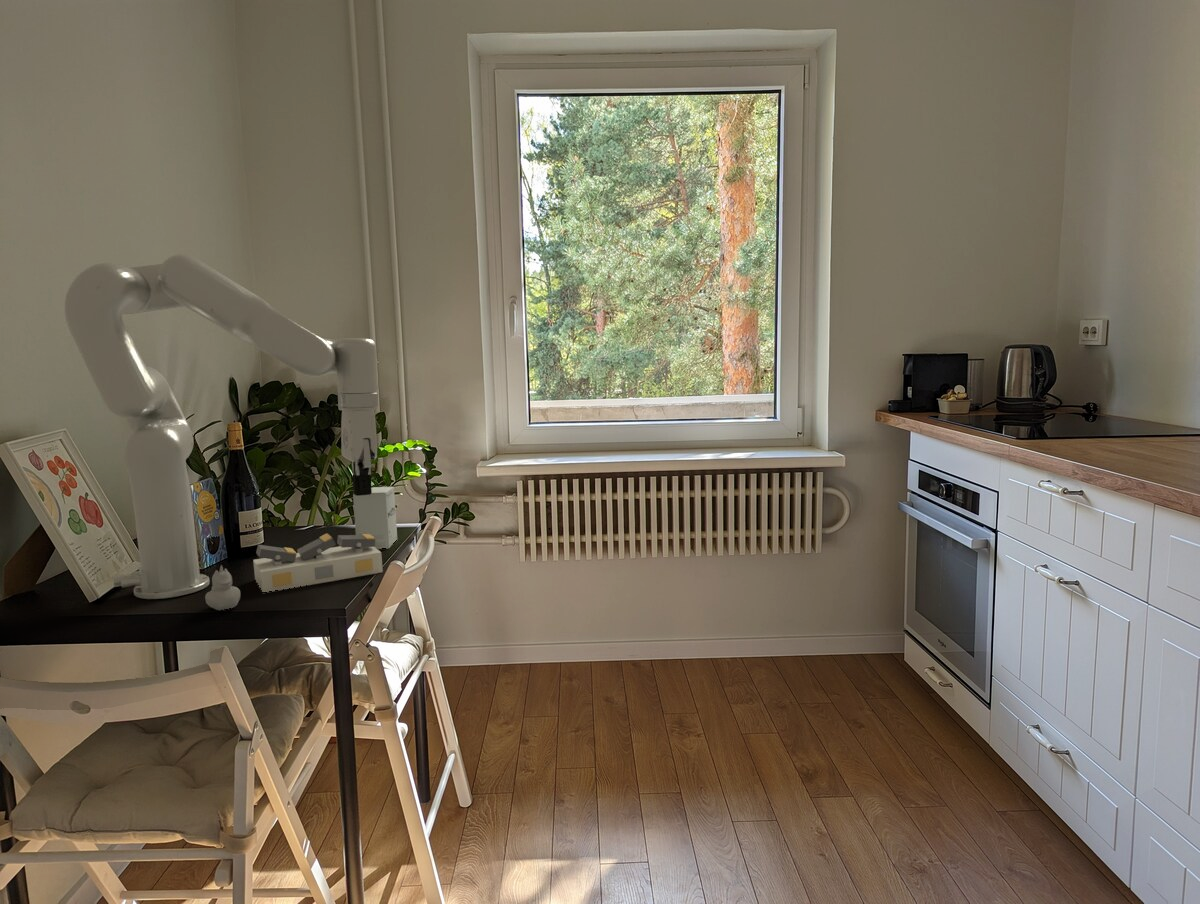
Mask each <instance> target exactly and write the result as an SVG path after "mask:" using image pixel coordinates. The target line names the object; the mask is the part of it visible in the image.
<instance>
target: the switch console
mask: <svg viewBox="0 0 1200 904" xmlns="http://www.w3.org/2000/svg"><path fill="white" fill-rule="evenodd" d="M296 554H297V555H296V559H295V562H290V561H282V560H275V559H267V558H256V559H253V562H252V563H253V570H254V571H253V572H254V580H256V581H255V583H256V584H257V583H258V584H257V586H258V585H259V586H258V588H259V589H260V588H261V589H260V591H261V590H262V591H261V592H267V593H270V592H269V591H272V592H276V591H275V590H278V591H282V590H283V589H284V590H288V589H289V588H290V589H295V588H300V586H301V587H306V585H307V586H312V585H318V584H323V583H329V582H335V581H340V580H346V579H352V578H357V577H364V576H369V575H370V576H371V575H375V574H380V573H383V571H384V570H383V558H382V556H383V555H382V552H381V551H380V549H376V548H375V547H343V548H342V547H341V546H340V545H339V546H333V547H331V548H329V549H327V550H325V551H323V552H321V553H319V554H317V555H316V556H314V557H312V558H310V559H308V560H306V561H304V560H303V559H302V558H301V556H300V555H299V553H298V552H296ZM294 587H295V588H294Z"/></svg>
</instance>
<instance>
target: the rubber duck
mask: <svg viewBox="0 0 1200 904" xmlns="http://www.w3.org/2000/svg"><path fill="white" fill-rule="evenodd" d="M211 584H212V586H211V590H210V591H208V592H206V594H205V597H204V599H205V603H206V604H207V605H208V606H209V607H210V608H212V609H214V610H216V611H221V610H223V611H225V610H224V609H228V610H230V609H229V608H231V609H233V608H235V607H236V606H237V605H238V603H239V601H240V600H241V590H240V589H239V588H238V587H237V586H234V585H233V577H232V575H231V573H230V572H229V571H228V569H227V568H224V567H223V565H222V564H220V567H219V571H218V570H217V569H216V570H215V571H214V573H213V575H212V577H211Z"/></svg>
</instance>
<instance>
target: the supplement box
mask: <svg viewBox="0 0 1200 904" xmlns="http://www.w3.org/2000/svg"><path fill="white" fill-rule="evenodd" d="M371 489H372V493H371V494H370V495H361V496H356V495H355V494H354V493H352V500H353V512H354V513H353V514H354V528H355V535H362V534H370V535H372V536H373V537H374V538H375V548H376V549H378V550H383V549H382V548H386V549H385V550H388V549H390V548H391V547H392V546H393V545H394V544H395V543H396V542H397V541H398V530H397V529H398V528H397V527H398V526H397V514H396V513H397V512H396V499H395V487H394V486H378V487H377V486H376V487H375V486H374V487H372V486H371ZM396 540H397V541H396ZM395 541H396V542H395ZM394 542H395V543H394ZM393 543H394V544H393Z"/></svg>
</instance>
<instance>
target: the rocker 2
mask: <svg viewBox="0 0 1200 904" xmlns="http://www.w3.org/2000/svg"><path fill="white" fill-rule="evenodd" d="M333 547H336V542H335V540H334V538H333V537H332V536H331V535H330V534H329V533H325V534H322V535H321V536H319V538H317V539H314V540H312V541H311V542H308V543H307V544H305V545H302V547H299V548H297V549H296V550H297V553H299V555H300V556H301V558H302V559H303V560H304V561H306V560H308V559H310V558H312V557H314V556H316V555H317V554H319V553H321V552H323V551H325V550H327V549H329V548H333Z"/></svg>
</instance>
